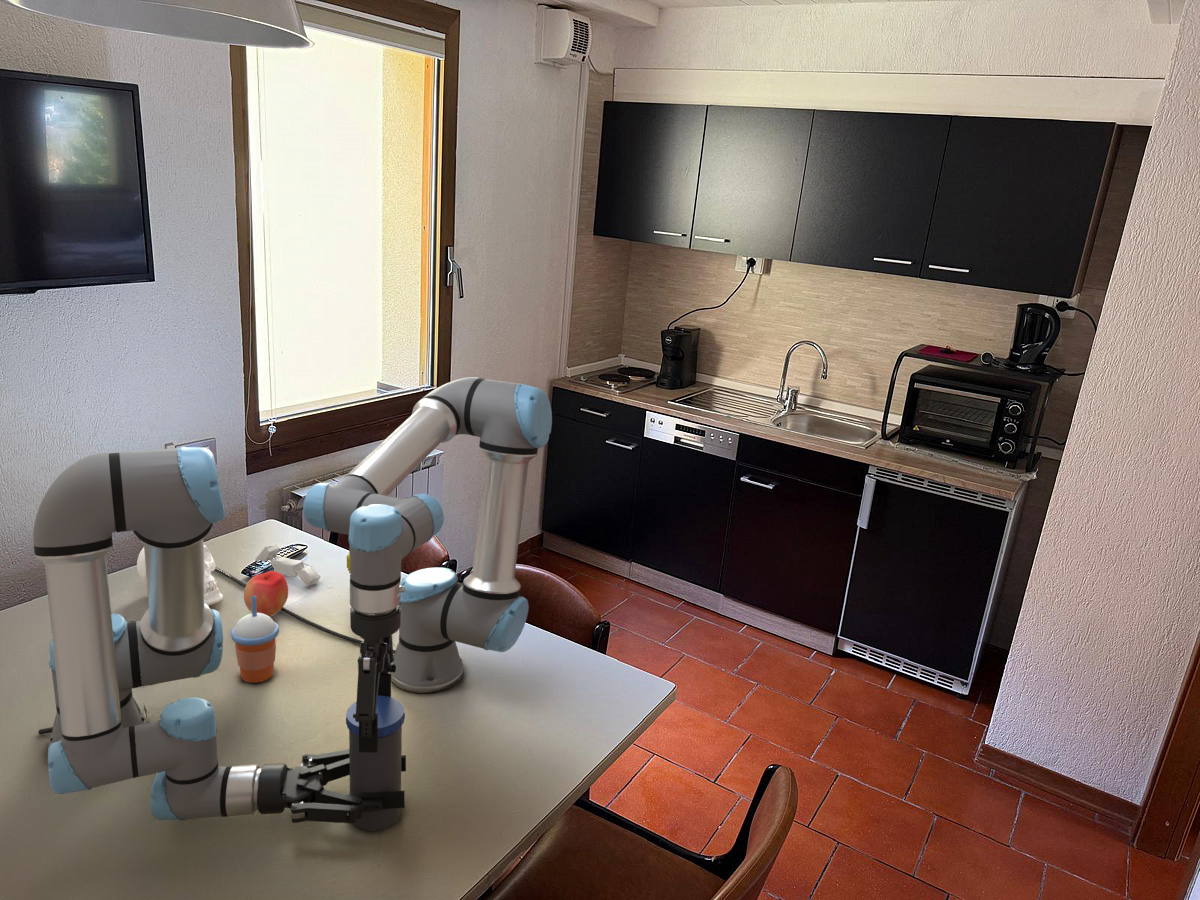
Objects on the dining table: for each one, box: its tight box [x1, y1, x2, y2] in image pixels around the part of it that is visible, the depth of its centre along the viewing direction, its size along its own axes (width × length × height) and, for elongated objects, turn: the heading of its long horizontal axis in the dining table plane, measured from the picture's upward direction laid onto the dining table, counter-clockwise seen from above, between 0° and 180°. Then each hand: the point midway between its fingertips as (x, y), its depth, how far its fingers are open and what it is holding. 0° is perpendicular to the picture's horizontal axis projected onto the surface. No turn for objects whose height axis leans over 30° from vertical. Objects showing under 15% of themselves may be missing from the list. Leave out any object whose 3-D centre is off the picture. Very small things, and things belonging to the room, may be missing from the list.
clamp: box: [254, 544, 322, 587], centre depth 219 cm, size 20×4×7 cm, turn 62°
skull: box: [136, 544, 224, 607], centre depth 203 cm, size 13×22×16 cm, turn 73°
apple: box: [243, 570, 289, 618], centre depth 199 cm, size 10×10×10 cm
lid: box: [345, 696, 406, 737], centre depth 136 cm, size 9×9×2 cm
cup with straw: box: [230, 596, 280, 684], centre depth 174 cm, size 9×9×18 cm
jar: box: [348, 725, 403, 832], centre depth 139 cm, size 8×8×19 cm
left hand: (405, 780), depth 141 cm, fingers closed on jar, 8 cm apart
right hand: (375, 729), depth 137 cm, fingers open, 10 cm apart
